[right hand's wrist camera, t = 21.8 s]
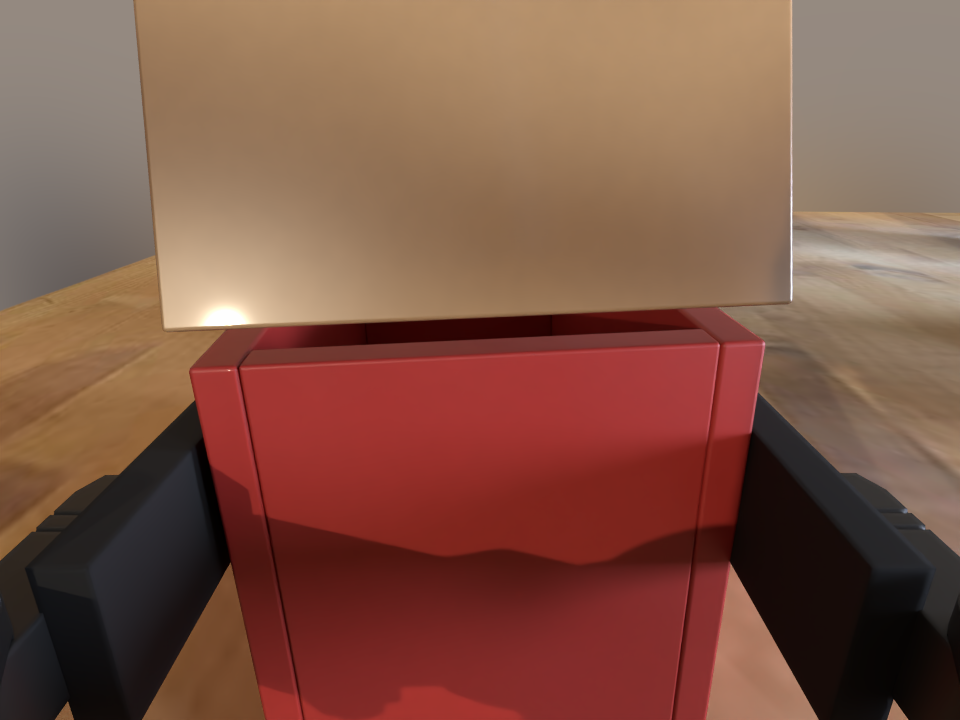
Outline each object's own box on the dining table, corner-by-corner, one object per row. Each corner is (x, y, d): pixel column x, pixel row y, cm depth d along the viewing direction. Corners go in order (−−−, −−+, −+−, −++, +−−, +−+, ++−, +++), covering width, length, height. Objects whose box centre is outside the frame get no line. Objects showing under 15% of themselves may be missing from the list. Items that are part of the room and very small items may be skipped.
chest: (360, 430, 27) (336, 211, 24) (563, 418, 28) (570, 202, 24) (278, 788, 13) (184, 369, 9) (702, 752, 13) (769, 341, 10)
